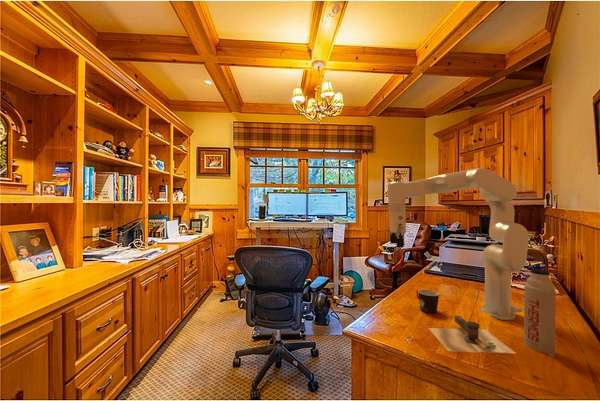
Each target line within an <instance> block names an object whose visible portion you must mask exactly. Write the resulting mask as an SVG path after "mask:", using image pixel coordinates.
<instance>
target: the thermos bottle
mask: <svg viewBox="0 0 600 401" xmlns="http://www.w3.org/2000/svg"><path fill="white" fill-rule="evenodd" d="M529 272H530V277H527V278H526V283H525V284H524V293H523V294H524V299H523V300H524V301H523V302H524V307H523V308H524V309H523V314H524V320H523V321H524V322H523V324H524V325H523V327H524V328H523V331H524V332H523V343H524V345H525V346H526V347H528V348H529V349H531V350H533V351H537V352H539V353H544V354H546V355H549V357H552V358H554V357H555V356H556V288H555V287H553V286H554V284H553V281H551V280H550V272H549V271H548V270H545V269H537V268H531V269H530V271H529Z"/></svg>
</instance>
